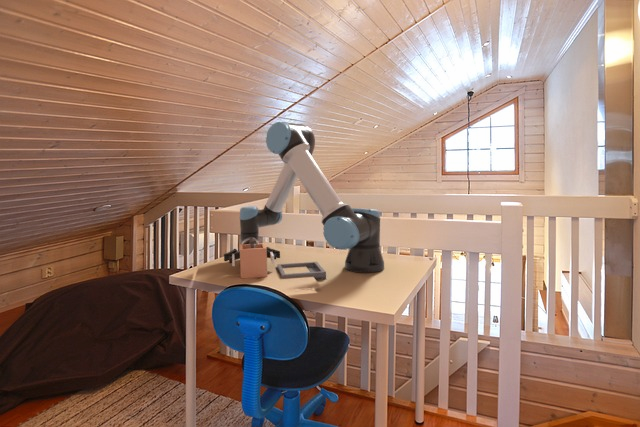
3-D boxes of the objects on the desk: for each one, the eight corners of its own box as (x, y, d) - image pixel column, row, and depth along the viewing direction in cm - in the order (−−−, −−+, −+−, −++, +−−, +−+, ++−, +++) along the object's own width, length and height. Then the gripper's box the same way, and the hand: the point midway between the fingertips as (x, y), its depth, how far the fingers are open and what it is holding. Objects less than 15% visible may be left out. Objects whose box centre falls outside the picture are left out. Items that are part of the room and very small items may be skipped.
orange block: (265, 269, 147) (264, 243, 145) (267, 276, 138) (266, 248, 137) (240, 271, 145) (239, 244, 144) (241, 278, 136) (239, 249, 135)
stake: (273, 275, 144) (271, 235, 142) (258, 283, 135) (257, 241, 133) (249, 273, 148) (248, 234, 146) (233, 280, 139) (232, 239, 137)
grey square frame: (317, 267, 154) (316, 261, 154) (326, 278, 139) (326, 272, 139) (277, 270, 151) (277, 264, 151) (282, 282, 136) (282, 275, 136)
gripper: (282, 255, 161) (289, 269, 141) (219, 259, 156) (216, 274, 136) (281, 237, 160) (289, 248, 140) (218, 240, 155) (215, 252, 135)
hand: (253, 261), depth 138 cm, fingers open, 13 cm apart
